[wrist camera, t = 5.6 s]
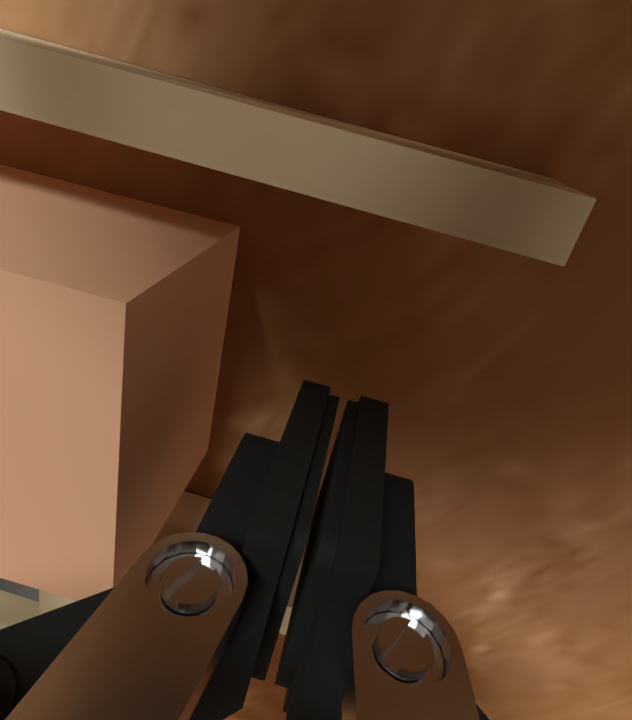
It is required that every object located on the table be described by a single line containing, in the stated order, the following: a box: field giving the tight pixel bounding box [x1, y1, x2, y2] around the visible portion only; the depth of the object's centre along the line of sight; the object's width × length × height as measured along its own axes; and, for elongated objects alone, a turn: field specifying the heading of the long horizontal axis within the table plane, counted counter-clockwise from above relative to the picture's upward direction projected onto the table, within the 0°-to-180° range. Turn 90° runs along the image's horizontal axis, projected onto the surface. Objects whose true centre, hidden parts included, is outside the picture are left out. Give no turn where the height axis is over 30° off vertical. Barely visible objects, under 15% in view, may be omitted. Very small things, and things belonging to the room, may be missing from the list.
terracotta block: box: [0, 164, 240, 601], centre depth 10 cm, size 6×6×5 cm
